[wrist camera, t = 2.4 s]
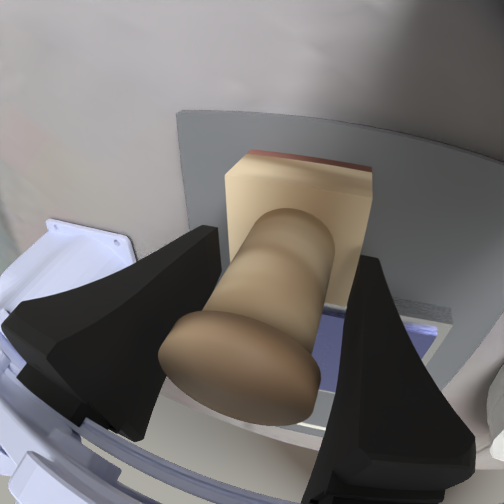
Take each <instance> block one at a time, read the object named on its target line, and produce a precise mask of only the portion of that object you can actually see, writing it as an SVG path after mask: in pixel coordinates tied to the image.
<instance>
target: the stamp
mask: <svg viewBox="0 0 504 504" xmlns="http://www.w3.org/2000/svg"><path fill="white" fill-rule="evenodd" d="M225 190H226V207H227V223H228V238H229V253H230V265H229V266H228V268H227V270H226V271H225V273H224V275H223V276H222V278H221V280H220V281H219V283H218V285H217V286H216V288H215V290H214V291H213V293H212V295H211V296H210V298H209V300H208V301H207V303H206V305H205V306H204V308H203V310H202V311H196V312H192V313H189V314H186V315H184V316H183V317H181V318H180V319H179V320H178V321H177V322H176V323H175V325H174V326H173V328H172V329H171V331H170V333H169V334H168V336H167V337H166V339H165V340H164V342H163V344H162V345H161V347H160V349H159V351H158V359H159V363H160V365H161V367H162V369H163V371H164V372H165V374H166V375H167V376H168V378H169V379H170V380H171V381H172V382H173V383H174V384H175V385H176V386H177V387H178V388H179V389H181V390H182V391H183V392H184V393H186V394H187V395H188V396H190V397H191V398H193V399H194V400H196V401H197V402H199V403H201V404H202V405H204V406H206V407H208V408H210V409H212V410H214V411H216V412H218V413H221V414H223V415H226V416H228V417H231V418H234V419H237V420H241V421H244V422H248V423H253V424H259V425H266V426H287V425H293V424H298V423H300V422H303V421H305V420H306V419H308V418H309V417H310V416H311V414H312V413H313V410H314V406H315V402H316V399H317V395H318V391H319V387H320V383H321V372H320V368H319V366H318V364H317V362H316V361H315V359H314V358H313V357H312V352H313V348H314V344H315V340H316V336H317V332H318V328H319V324H320V320H321V316H322V311H323V307H324V303H329V304H334V305H339V306H344V307H346V305H347V301H348V298H349V294H350V291H351V287H352V284H353V280H354V276H355V272H356V269H357V265H358V261H359V257H360V253H361V249H362V244H363V240H364V236H365V232H366V227H367V223H368V218H369V214H370V209H371V204H372V199H373V190H372V167H369V166H364V165H358V164H353V163H347V162H341V161H335V160H329V159H323V158H317V157H310V156H303V155H295V154H288V153H280V152H271V151H263V150H253V149H251V150H250V151H249V152H248V153H247V154H246V155H245V156H244V157H243V158H242V159H241V160H239V161H238V162H237V163H236V164H235V165H234V166H233V167H232V168H231V169H230V170H229V171H228V172H227V173H226V174H225Z"/></svg>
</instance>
